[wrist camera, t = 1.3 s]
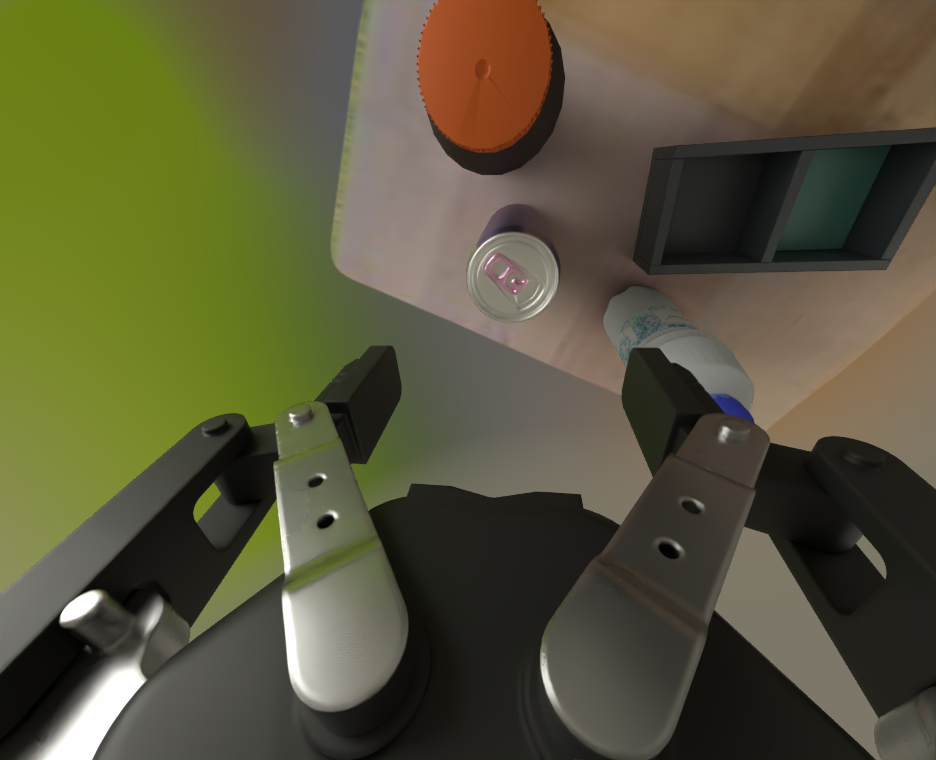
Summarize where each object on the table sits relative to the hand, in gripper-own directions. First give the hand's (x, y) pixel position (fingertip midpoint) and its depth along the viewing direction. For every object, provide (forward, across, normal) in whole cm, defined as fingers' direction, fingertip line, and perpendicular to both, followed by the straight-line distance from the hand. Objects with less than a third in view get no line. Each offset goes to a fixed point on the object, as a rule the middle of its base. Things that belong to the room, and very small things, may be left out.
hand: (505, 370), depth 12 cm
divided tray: (+26, -20, -2) cm, 33 cm away
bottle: (+26, -12, +8) cm, 30 cm away
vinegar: (+26, +1, -9) cm, 28 cm away
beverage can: (+26, 0, 0) cm, 26 cm away
